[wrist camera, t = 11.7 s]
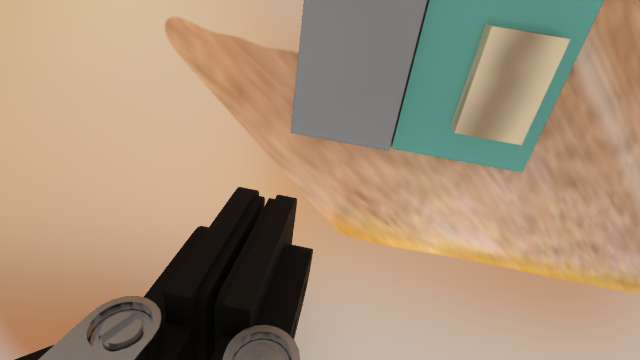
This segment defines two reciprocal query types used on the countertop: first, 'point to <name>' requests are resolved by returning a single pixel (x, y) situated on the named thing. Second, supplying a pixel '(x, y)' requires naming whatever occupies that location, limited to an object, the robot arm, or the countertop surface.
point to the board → (354, 68)
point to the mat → (454, 65)
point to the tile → (507, 83)
